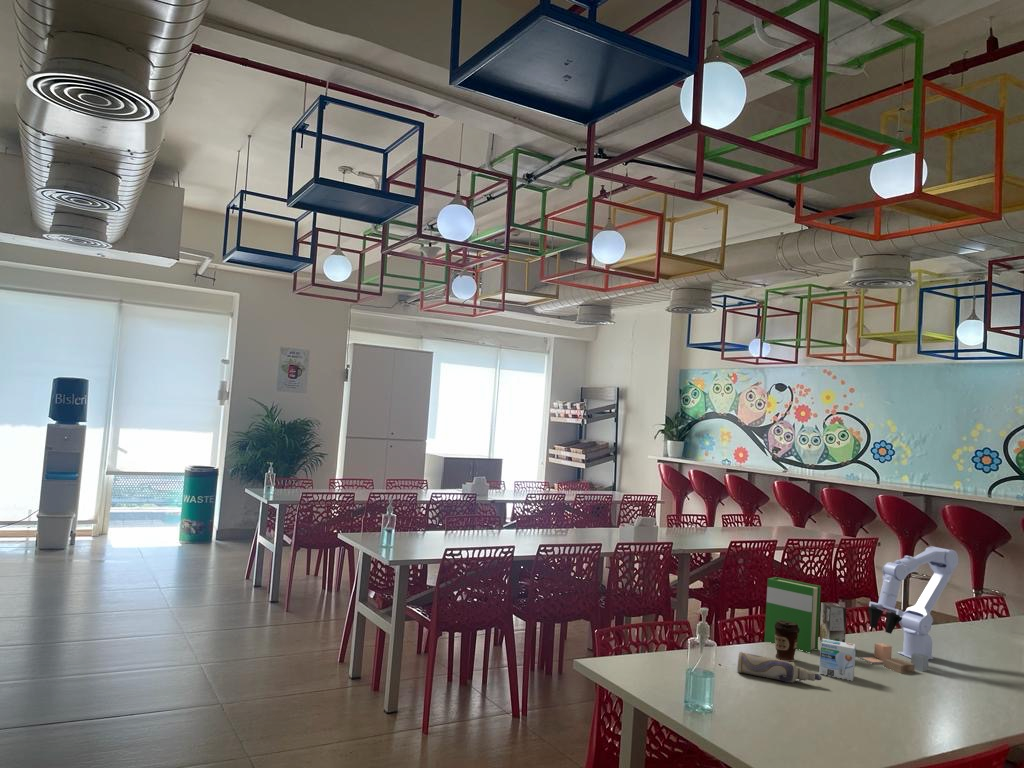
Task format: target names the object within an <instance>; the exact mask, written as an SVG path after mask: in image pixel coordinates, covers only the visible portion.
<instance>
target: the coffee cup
mask: <svg viewBox="0 0 1024 768" xmlns="http://www.w3.org/2000/svg"><path fill="white" fill-rule="evenodd" d="M774 627H775V644H774V646H775V650H776V654H775V659H779V660H780V659H781V660H785V661H793V662H795V661H794V660H795V654H796V651H797V650H796V647H797V642H798V639H797V638H798V634H799V632H800V629H799V628H798V624H796V623H794V622H789V621H783V620H778V621H777V622H776V624H775V625H774Z"/></svg>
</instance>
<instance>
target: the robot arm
mask: <svg viewBox="0 0 1024 768" xmlns="http://www.w3.org/2000/svg"><path fill="white" fill-rule="evenodd" d="M924 564H928V565H929V567H930V570H931V571H933V574H932V576H931V577H930V579H929V581H928V583H927V584H926V586H925V588H924V590H923V591H922V593H921V594H920V596H919V598H918V599H917V602H915V604H914V605H912V606H909V607H906V610H905V611H904V610H902V609H898V608H896V604H897V600H898V595H899V591H900V587H901V585H902V584H901V583H902V581H905V579H906V578H907V576H908V575H909V574H911V573H913V572H915V571H918V569H919V567H920V566H922V565H924ZM958 564H959V555H958V552H957V551H956V550H954V549H947V548H943V547H942V548H941V547H937V546H934V545H930V546H929V547H925V550H924V551H922V552H920V553H919V554H918V553H917V555H914V556H911V555H904V556H903V558H900V559H896V560H895V561H894V562H891V561H889V562H888V561H887V563H884V565H883V566H882V569H881V572H882V584H881V585H882V586H881V589H880V593H879V597H878V602H874V601H869V604H868V606H867V612H868V614H869V627H870V628H871V629H877V626H878V623H879V620H880V618H881V616H882V614H884V612H885V614H886V623H885V630H884V633H887V634H892V633H893V631H894V629H895V628H896V626H897V625H898V624H899V625H900V628H901V630H902V631H903V643H902V644H903V645H902V651H897V654H900V655H902V656H905V657H906V658H910V659H911V654H914V653H920V654H923V655H927V656H928V660H934V657H933V639H932V637H931V635H930V634H929V633H930V632H931V629H932V625H933V622H934V619H933V618H934V617H933V616H932V614H931V612H932V610H933V609H934V606H935V605H936V603H938V599H940V596H941V594H942V593H943V591H944V589H945V588H946V587H947V585H948V582H949V581H950V579H951V577H952V576H953V573H954V571H955V570H956V567H958Z"/></svg>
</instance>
